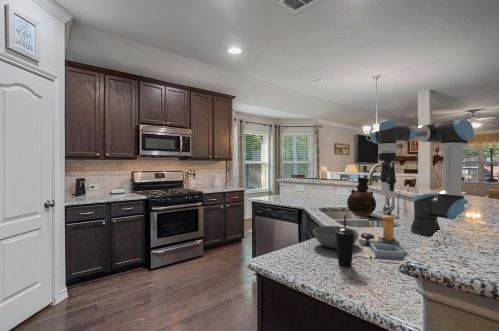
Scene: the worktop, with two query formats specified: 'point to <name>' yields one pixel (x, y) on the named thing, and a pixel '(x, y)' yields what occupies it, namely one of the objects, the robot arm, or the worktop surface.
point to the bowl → (329, 235)
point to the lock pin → (388, 228)
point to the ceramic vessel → (361, 199)
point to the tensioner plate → (380, 241)
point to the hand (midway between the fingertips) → (387, 196)
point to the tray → (396, 253)
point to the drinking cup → (345, 245)
